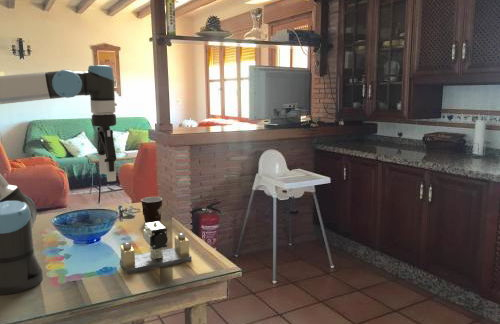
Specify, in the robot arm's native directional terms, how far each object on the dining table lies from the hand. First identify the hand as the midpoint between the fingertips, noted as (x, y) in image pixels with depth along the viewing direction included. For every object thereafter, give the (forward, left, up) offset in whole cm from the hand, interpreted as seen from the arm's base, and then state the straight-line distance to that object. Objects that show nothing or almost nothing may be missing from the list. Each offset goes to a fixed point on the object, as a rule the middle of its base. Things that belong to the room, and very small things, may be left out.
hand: (107, 177), depth 145 cm
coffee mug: (+20, +25, -27) cm, 42 cm away
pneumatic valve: (+11, -15, -25) cm, 31 cm away
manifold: (+11, -15, -27) cm, 33 cm away
